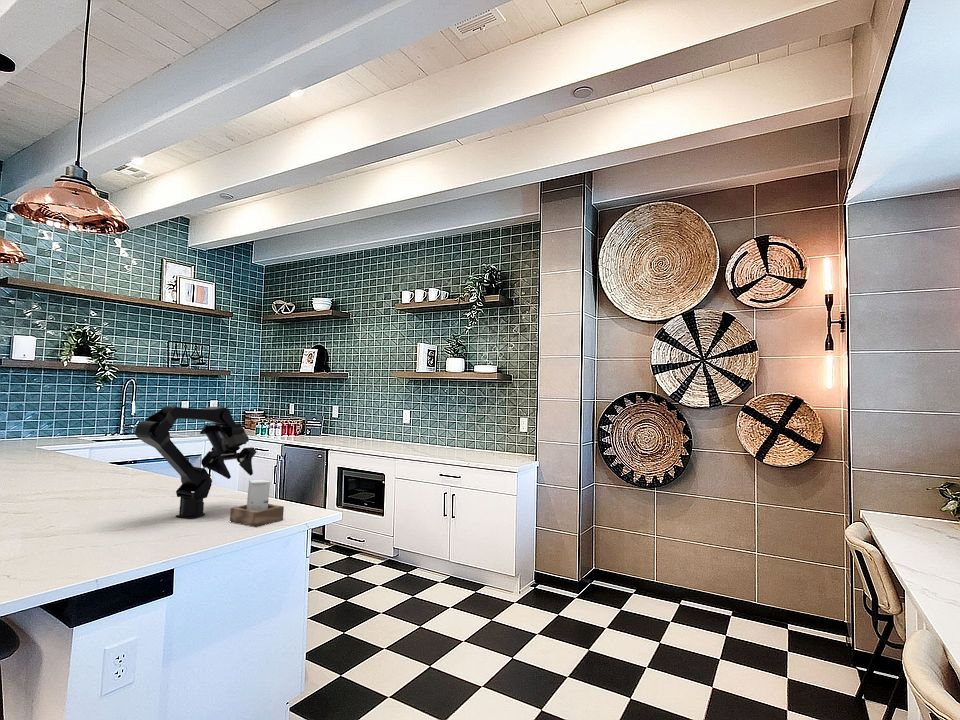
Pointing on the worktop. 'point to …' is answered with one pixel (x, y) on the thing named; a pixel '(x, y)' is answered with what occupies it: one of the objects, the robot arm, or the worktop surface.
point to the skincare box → (258, 495)
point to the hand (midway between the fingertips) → (241, 476)
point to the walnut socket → (256, 515)
